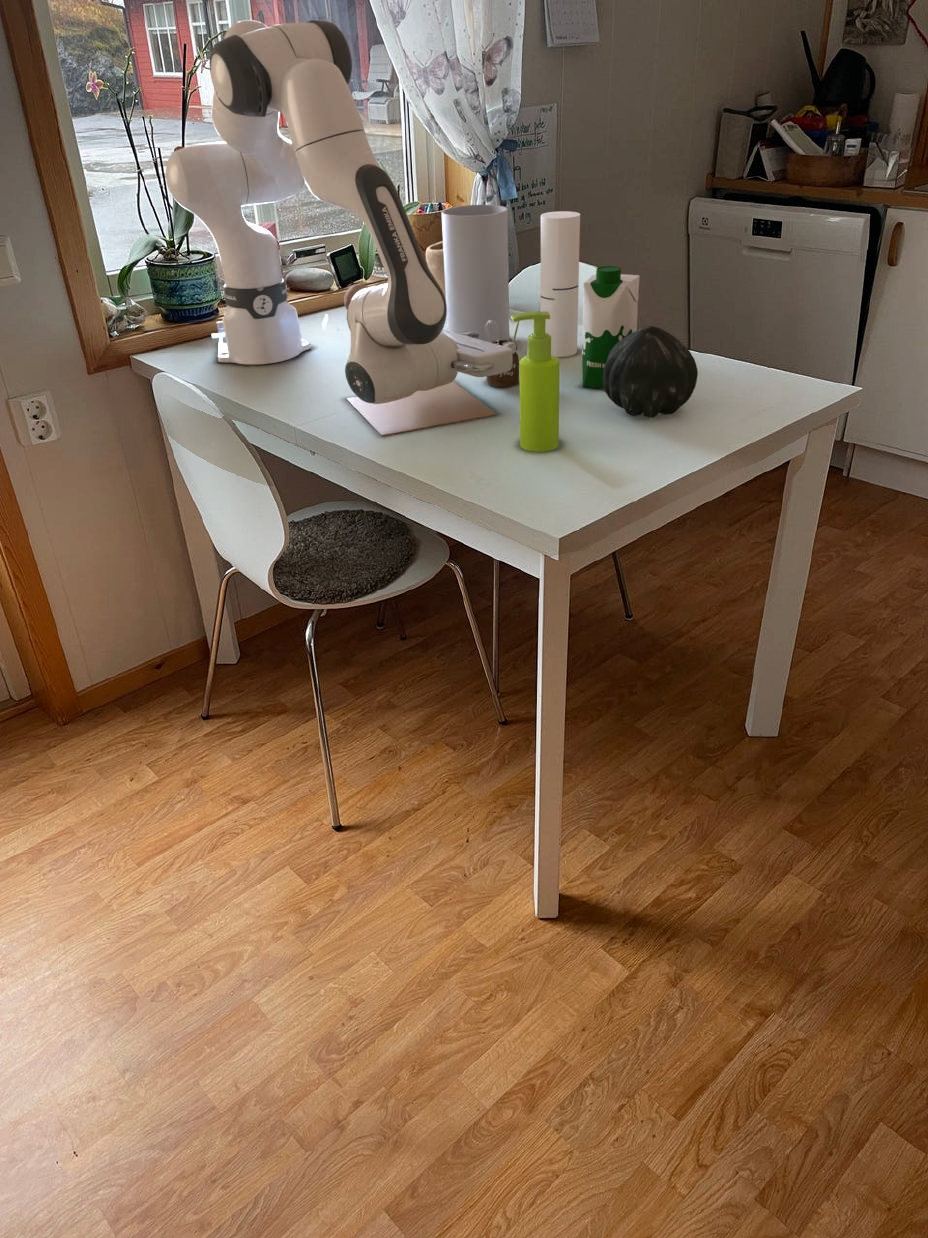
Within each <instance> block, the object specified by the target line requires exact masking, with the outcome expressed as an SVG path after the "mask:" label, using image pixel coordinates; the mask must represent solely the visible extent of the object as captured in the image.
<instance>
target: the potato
mask: <svg viewBox="0 0 928 1238" xmlns="http://www.w3.org/2000/svg"><path fill="white" fill-rule="evenodd" d="M368 287H369V286H367V285H365V284H363V283H357V284H353V285H350V286H349V288H348V289H347V290H346V291H345V293H344V295H343V304H344V307H345V309H346V310H347V309H348V305H349V302H350V300H351V298H352V297H353V296H354V294H355V293H357V292H358V291H359V290H361V289H364V288H368Z"/></svg>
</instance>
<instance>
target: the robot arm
mask: <svg viewBox="0 0 928 1238" xmlns="http://www.w3.org/2000/svg"><path fill="white" fill-rule="evenodd" d="M352 58H353V57H352V52H351V49H350V45H349V43H348V40H347V38H346V36H345V35H344V34H343V32H342V31H341V30H340V28H339V27H338V26H337V25H336V24H335V23H333V22H330V21H326V20H318V19H312V20H308V21H307V22H289V23H281V24H274V25H271V26H267V25H266V24H265V23H263V22H261V21H257V20H253V19H245V20H244V19H243V20H239V21H237V22H235V23H234V24H232V25H231V26H230V27H229V28H228V29H227V31H226V32H225V34H224V36H223V39H221V40H219V41H218V42H216V43H215V44H214V45H213V47H212V49H211V53H210V57H209V72H210V78H211V79H210V80H211V83H212V87H213V91H212V102H211V114H210V115H211V121H212V125H213V127H214V130H215V131H216V133H217V135H218V136H219V137H220V138H221V139H222V141H215V142H204V143H195V144H192V145H189V146H186V147H183V148H180V149H177V150H174V151H172V152H171V154H170V156H169V157H168V158H167V159H168V160H167V162H166V166H165V182H166V186H167V187H168V190H169V193H170V194H171V196H172V197H173V199H174V200H175V202H176V203H178V205H180V206H181V207H182V208H184V209H185V210H187V211H189V212H190V213H192V214H193V215H194V216H195V217H196V218H197V219H199V220H200V221H201V222H202V223H203V224H204V225H205V227H206V228H207V230H208V231H209V233H210V235H211V236H212V238H213V241H214V242H215V245H216V248H217V251H218V255H219V261H220V264H221V270H222V274H223V279H224V280H223V281H224V285H223V297H224V302H225V304H226V308H225V311H224V313H223V317H222V318H221V319H222V320H221V321H216V326H217V333H211V338H212V339H218V349H217V362H219V363H234V364H239V365H249V366H250V365H252V366H253V365H254V366H255V365H266V364H268V365H269V364H275V363H279V362H280V363H281V362H284V361H288V360H290V359H293V358H295V357H297V356H299V355H300V354H301V353H303V352H305V351H307V350H310V349H311V348H312V347H311V342H310V341H307V340H306V339H303V338H302V333H301V327H300V322H299V316H298V309H297V308H296V307H295V306H293V305H292V304H291V303H290V302H289V301H288V288H287V285H286V280H285V279H284V278H283V273H282V266H281V257H280V251H279V244H278V241H277V239H276V238H275V236H274V235H273V234H272V233H271V232H270V231H269V230H268V229H266V228H264V227H262V226H259V225H257V224H254V223H251V222H249V221H247V220H246V218H245V216H244V213H243V207H246V206H255V205H263V204H269V203H277V202H281V201H283V200H286V199H289V198H291V197H295V196H297V195H299V194H300V193H301V191H302V189H303V188H304V185H305V184H306V186H307V188H308V189H309V191H310V193H311V194H312V195H313V196H314V197H315V198H317V199H318V200H319V201H321V202H323V203H324V204H326V205H327V206H331V207H334V208H338V209H341V210H345V211H347V212H350V213H352V214H353V215H355V216H356V217H357V218H359V219H360V220H361V222H363V224H364V225H365V227H366V228H367V230H368V232H369V234H370V236H371V239H372V242H373V244H374V246H375V249H376V251H377V254H378V257H379V259H380V262H381V264H382V266H383V270H384V271H385V274H386V277H387V282H384V283H380V284H375V285H371V286H367V287H368V288H364V289H361V290H359V291H358V292H357V293H355V294H354V296H353V297H352V298H351V300H350V302H349V305H348V309H346V320H347V321H346V322H347V325H348V329H349V333H350V334H349V335H350V349H349V350H350V351H349V355H348V359H347V361H346V363H345V367H344V373H345V374H344V375H345V379H346V381H347V384H348V386H349V388H350V390H351V391H352V392H353V394H354V395H355V397H356V396H357V397H358V398H359V399H361V400H362V401H364V402H367V403H370V404H382V403H388V402H392V401H396V400H400V399H403V398H406V397H409V396H411V395H413V394H414V393H415V392H417V391H427V390H430V389H434V388H437V387H440V386H443V385H446V384H449V383H451V382H452V381H454V382H455V379H456V378H457V377H458V373H462V374H465V375H468V376H471V377H476V378H487V376H491V375H496V374H500V373H503V372H507V371H509V370H511V368H512V365H513V355H512V354H513V353H515V352H517V351H516V344H517V342H516V343H514V342H510V341H508V342H505V343H503V346H501V345H498V344H494V343H490V342H487V341H483V340H479V338H478V337H479V334H478V333H476V332H472V331H471V332H468V333H454V332H450V331H448V330H446V329H444V326H445V324H446V322H447V305H446V299H445V296H444V294H443V291H442V289H441V287H440V286H439V284H438V282H437V281H436V279H435V278H434V276H433V275H432V273H431V272H430V270H429V268H428V265H427V261H426V259H425V257H424V255H423V252H422V250H421V247H420V244H419V243H418V240H417V237H416V234H415V232H414V229H413V227H412V225H411V222H410V220H409V216H408V214H407V212H406V209H405V207H404V204H403V202H402V200H401V196H400V195H399V193H398V191H397V188H396V187H395V184H394V182H393V180H392V179H391V177H390V176H389V175H388V173H387V172H386V171H385V170H384V169H382V167H381V166H380V164H379V163H378V161H377V159H376V157H375V155H374V153H373V151H372V147H371V145H370V142H369V140H368V138H367V133H366V131H365V127H364V124H363V121H362V117H361V115H360V112H359V110H358V106H357V104H356V102H355V99H354V96H353V93H352V92H351V89H350V87H349V84H350V80H351V76H352V71H353V60H352ZM280 114H281V115H282V116H283V118H284V120H285V122H286V126H287V130H288V133H289V137H290V138H289V139H288V138H286V137H285V136H283V135H282V134H281V132H280V129H279V125H280V124H279V123H280ZM328 320H329V315H328V314H327V313H325V315H324V318H323V321H322V323H321V325H322V326H321V327H322V330H325V329H326V326H327V323H328Z"/></svg>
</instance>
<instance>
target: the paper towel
mask: <svg viewBox="0 0 928 1238" xmlns="http://www.w3.org/2000/svg"><path fill="white" fill-rule="evenodd" d="M345 399H346V401H347V402H348V403H349V404H350V405H351V406H352V407H353V408H354V409H355V410H356V411H357V412H358V413H359V415H361V416H362V417H363V419H365V420H366V421H367V422H368V424H370V426H371V427H372V428H373V429H374V430H375V431H376V432H377V433H378V434H379V435H380V436H381V437H386V436H392V435H396V434H402V433H406V432H412V431H419V430H423V429H428V428H435V427H439V426H445V425H450V424H456V423H460V422H465V421H471V420H477V419H481V418H486V417H492V416H496V415H497V413H496V412H495V411H493V410H492V409H491V408H489V407H488V406H486V405H485V404H484V403H483V402H481V401H480V400H479V399H477V398H476V397H475V396H473V395H472V394H470V393H469V392H468V391H467V390H465V389H464V388H463V387H462V386H460V385H459V384H458V383H456V382H455V380H454V381H452V382H451V383H449V384H446V385H443V386H440V387H437V388H434V389H430V390H427V391H417V392H415V393H414V394H413V395H411V396H409V397H406V398H403V399H400V400H396V401H392V402H388V403H382V404H370V403H367V402H364V401H362V400H361V399H359V398H358V397H357V396H356V395H355V396H351V397H346V398H345Z"/></svg>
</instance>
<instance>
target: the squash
mask: <svg viewBox="0 0 928 1238" xmlns="http://www.w3.org/2000/svg"><path fill="white" fill-rule="evenodd" d="M698 374H699V371H698V366H697V362H696V359H695V358H694V356H693V354H692V353H691V351H690V350H689V348H688V347H687V346H686V345H685V344H684V343H683V342H682V341H680V339H678V338H677V337H676V336H675V335H674V334H673V335H672V334H671V333H670V332H668V331H666V330H664V329H663V328H660V327H657V326H654V325H646V326H643V327H641V328H639V329H637V331H635V332H633V333H631V334H629V335H628V336H626V337H625V338H623V339H622V340H620V341H619V342H618V343H617V344H616V345H615V346H614V347H613V349H612V350H611V351H610V353H609V355H608V358H607V361H606V364H605V367H604V373H603V384H604V389H603V390H604V391H605V394H606V395H607V397H608V399H610V400H611V401H612V402H613V403H614V404H615V406H617V407H619V408H621V409H623V410H624V411H625V412H626V414H627V415H629V416H630V417H639V416H641V415H643V416H645V417H646V418H648V419H650V418H655V417H656V416H658V415H659V414H660V415H665V416H667V415H673V414H675V413H676V412H678V411H679V409H681V407H682V406H684V405H685V404H686V403H688V401H689V400H690V398H691V397H692V396H693V394H694V391H695V389H696V387H697V381H698V376H699V375H698Z"/></svg>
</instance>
